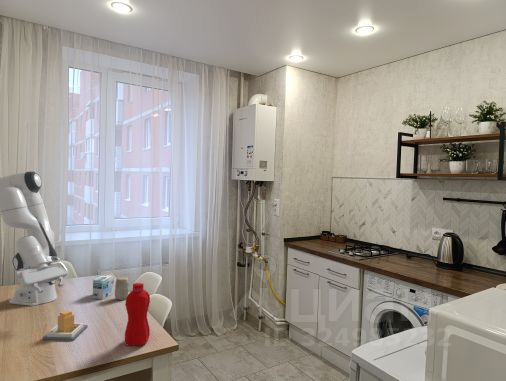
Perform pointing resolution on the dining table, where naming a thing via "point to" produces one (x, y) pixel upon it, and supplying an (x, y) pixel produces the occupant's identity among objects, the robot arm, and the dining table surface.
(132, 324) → the water bottle
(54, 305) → the dining table surface
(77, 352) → the dining table surface
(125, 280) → the carving
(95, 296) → the light bulb box
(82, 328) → the base
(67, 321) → the stepped orange block
